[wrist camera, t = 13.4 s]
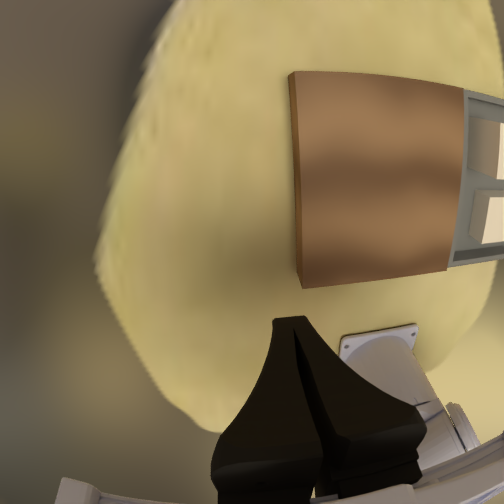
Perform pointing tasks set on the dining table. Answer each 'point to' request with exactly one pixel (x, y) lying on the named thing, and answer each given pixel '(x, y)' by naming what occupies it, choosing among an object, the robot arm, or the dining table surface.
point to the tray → (475, 187)
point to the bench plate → (374, 175)
